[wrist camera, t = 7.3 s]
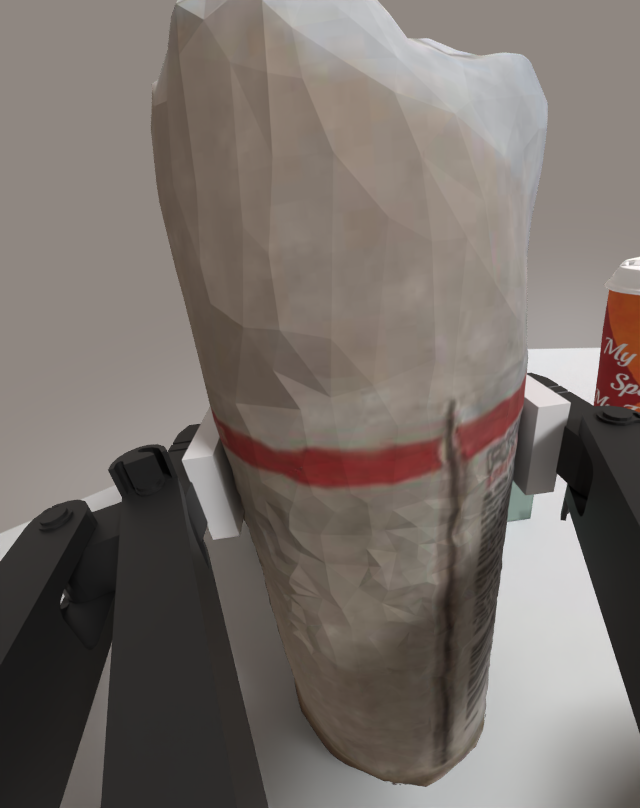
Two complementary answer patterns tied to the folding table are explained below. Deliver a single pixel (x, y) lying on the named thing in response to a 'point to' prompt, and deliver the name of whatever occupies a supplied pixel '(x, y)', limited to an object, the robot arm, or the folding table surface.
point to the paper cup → (621, 340)
